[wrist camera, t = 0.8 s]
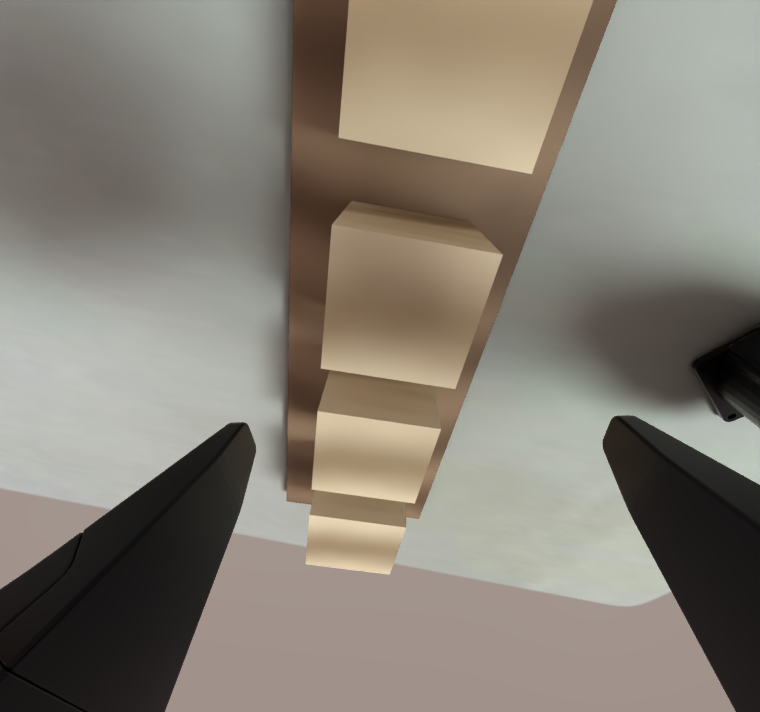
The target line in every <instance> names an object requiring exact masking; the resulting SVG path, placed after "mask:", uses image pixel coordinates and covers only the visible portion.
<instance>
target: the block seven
mask: <svg viewBox="0 0 760 712" xmlns="http://www.w3.org/2000/svg"><path fill="white" fill-rule="evenodd" d="M502 256H503V254H502V253H501V252H500V251H499V250H498V249H497V248H496V247H495V246H494V245H493V244H492V243H491V242H490V241H489V240H488V239H487V238H486V237H485V236H484V235H483V234H482V233H481V232H480V231H479V230H478V229H477V228H476V227H475V226H474V225H473V224H472V223H471V222H468V221H462V220H457V219H451V218H446V217H440V216H434V215H429V214H423V213H418V212H412V211H407V210H401V209H395V208H390V207H384V206H379V205H373V204H368V203H362V202H356V201H351V202H350V203H349V205H348V206H347V207H346V208H345V209H344V211H343V212H342V213H341V214H340V215H339V217H338V218H337V219H336V220H335V221H334V223H333V224H332V228H331V241H330V254H329V267H328V280H327V293H326V306H325V319H324V332H323V345H322V358H321V369H328V370H334V371H341V372H347V373H354V374H360V375H367V376H373V377H380V378H386V379H393V380H399V381H406V382H412V383H419V384H425V385H432V386H438V387H445V388H451V389H456V386H457V383H458V380H459V377H460V374H461V372H462V369H463V366H464V363H465V360H466V358H467V355H468V352H469V349H470V346H471V343H472V341H473V338H474V335H475V332H476V329H477V327H478V324H479V321H480V318H481V315H482V313H483V310H484V307H485V304H486V301H487V298H488V296H489V293H490V290H491V287H492V284H493V282H494V279H495V276H496V273H497V270H498V267H499V265H500V262H501V259H502Z"/></svg>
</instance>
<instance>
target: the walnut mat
mask: <svg viewBox="0 0 760 712" xmlns="http://www.w3.org/2000/svg"><path fill="white" fill-rule="evenodd" d="M616 2H617V0H593V3H592V6H591V9H590V11H589V14H588V17H587V20H586V23H585V25H584V28H583V31H582V34H581V37H580V40H579V42H578V45H577V48H576V51H575V54H574V56H573V59H572V62H571V65H570V68H569V70H568V73H567V76H566V79H565V82H564V85H563V87H562V90H561V93H560V96H559V99H558V101H557V104H556V107H555V110H554V113H553V116H552V118H551V121H550V124H549V127H548V130H547V132H546V135H545V138H544V141H543V144H542V146H541V149H540V152H539V155H538V158H537V161H536V163H535V166H534V169H533V172H532V174H528V173H523V172H518V171H512V170H507V169H502V168H496V167H491V166H486V165H481V164H475V163H470V162H465V161H459V160H454V159H449V158H443V157H438V156H433V155H427V154H422V153H417V152H412V151H406V150H401V149H396V148H390V147H385V146H380V145H374V144H369V143H364V142H358V141H353V140H348V139H343V138H338V137H339V124H340V111H341V98H342V85H343V72H344V59H345V46H346V33H347V20H348V7H349V0H294V1H293V74H292V147H291V219H290V292H289V365H288V438H287V501H289V502H296V503H304V504H311V505H312V502H313V498H314V494H315V490H312V476H313V463H314V450H315V437H316V425H317V412H318V408H319V405H320V401H321V398H322V394H323V391H324V388H325V384H326V381H327V378H328V374H329V371H330V370H328V369H321V358H322V345H323V332H324V319H325V306H326V293H327V280H328V267H329V254H330V241H331V228H332V224H333V223H334V221H335V220H336V219H337V218H338V217H339V215H340V214H341V213H342V212H343V211H344V209H345V208H346V207H347V206H348V205H349V203H350V202H351V201H356V202H362V203H368V204H373V205H379V206H384V207H390V208H395V209H401V210H407V211H412V212H418V213H423V214H429V215H434V216H440V217H446V218H451V219H457V220H462V221H468V222H471V223H472V224H473V225H474V226H475V227H476V228H477V229H478V230H479V231H480V232H481V233H482V234H483V235H484V236H485V237H486V238H487V239H488V240H489V241H490V242H491V243H492V244H493V245H494V246H495V247H496V248H497V249H498V250H499V251H500V252H501V253H502V254H503V256H502V259H501V262H500V265H499V267H498V270H497V273H496V276H495V279H494V282H493V284H492V287H491V290H490V293H489V296H488V298H487V301H486V304H485V307H484V310H483V313H482V315H481V318H480V321H479V324H478V327H477V329H476V332H475V335H474V338H473V341H472V343H471V346H470V349H469V352H468V355H467V358H466V360H465V363H464V366H463V369H462V372H461V374H460V377H459V380H458V383H457V386H456V389H451V388H445V387H438V386H434V388H435V394H436V400H437V407H438V413H439V419H440V425H441V431H440V434H439V437H438V440H437V442H436V445H435V448H434V451H433V454H432V456H431V459H430V462H429V465H428V468H427V470H426V473H425V476H424V479H423V482H422V485H421V487H420V490H419V493H418V496H417V499H416V501H415V503H407V502H406V517H409V518H416V519H419V517H420V515H421V512H422V509H423V507H424V504H425V502H426V499H427V496H428V494H429V491H430V488H431V486H432V483H433V481H434V478H435V475H436V473H437V470H438V468H439V465H440V462H441V460H442V457H443V454H444V452H445V449H446V447H447V444H448V441H449V439H450V436H451V434H452V431H453V428H454V426H455V423H456V420H457V418H458V415H459V413H460V410H461V407H462V405H463V402H464V399H465V397H466V394H467V392H468V389H469V386H470V384H471V381H472V379H473V376H474V373H475V371H476V368H477V365H478V363H479V360H480V358H481V355H482V352H483V350H484V347H485V345H486V342H487V339H488V337H489V334H490V331H491V329H492V326H493V324H494V321H495V318H496V316H497V313H498V311H499V308H500V305H501V303H502V300H503V297H504V295H505V292H506V290H507V287H508V284H509V282H510V279H511V276H512V274H513V271H514V269H515V266H516V263H517V261H518V258H519V256H520V253H521V250H522V248H523V245H524V242H525V240H526V237H527V235H528V232H529V229H530V227H531V224H532V222H533V219H534V216H535V214H536V211H537V208H538V206H539V203H540V201H541V198H542V195H543V193H544V190H545V188H546V185H547V182H548V180H549V177H550V174H551V172H552V169H553V167H554V164H555V161H556V159H557V156H558V154H559V151H560V148H561V146H562V143H563V140H564V138H565V135H566V133H567V130H568V127H569V125H570V122H571V119H572V117H573V114H574V112H575V109H576V106H577V104H578V101H579V99H580V96H581V93H582V91H583V88H584V85H585V83H586V80H587V78H588V75H589V72H590V70H591V67H592V65H593V62H594V59H595V57H596V54H597V51H598V49H599V46H600V44H601V41H602V38H603V36H604V33H605V31H606V28H607V25H608V23H609V20H610V17H611V15H612V12H613V10H614V7H615V4H616Z"/></svg>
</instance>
